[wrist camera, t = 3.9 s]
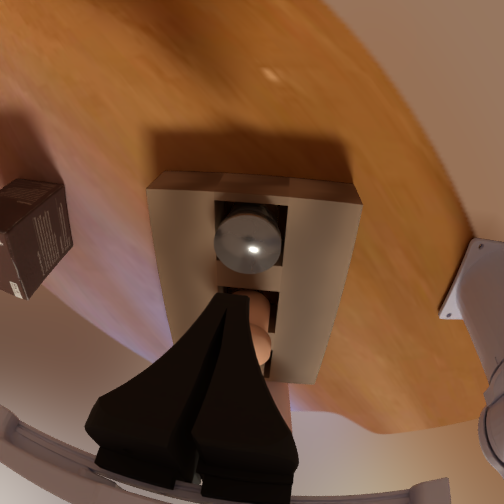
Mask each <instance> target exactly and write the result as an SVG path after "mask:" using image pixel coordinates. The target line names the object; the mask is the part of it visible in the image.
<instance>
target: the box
mask: <svg viewBox="0 0 504 504" xmlns="http://www.w3.org/2000/svg"><path fill="white" fill-rule="evenodd" d="M72 247H73V243H72V238H71V232H70V226H69V221H68V214H67V207H66V199H65V191H64V185H61V184H53V183H45V182H38V181H30V180H23V179H15V180H14V181H12V182H11V183H10V184H8V185H7V186H5V187H3V188H2V189H1V190H0V290H3V291H5V292H7V293H10V294H12V295H14V296H16V297H19V298H22V299H25V300H29V299H30V297H31V296H32V295H33V293H34V292H35V291H36V290H37V288H38V287H39V286H40V284H41V283H42V282H43V281H44V279H45V278H46V277H47V276H48V275H49V273H50V272H51V271H52V270H53V269H54V268H55V266H56V265H57V264H58V263H59V261H60V260H61V259H62V258H63V257H64V256H65V255H66V254H67V252H68V251H69V250H70V249H71V248H72Z"/></svg>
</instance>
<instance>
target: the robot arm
mask: <svg viewBox="0 0 504 504" xmlns="http://www.w3.org/2000/svg"><path fill="white" fill-rule="evenodd" d="M480 244H481V246H480V247H479V245H480ZM249 310H250V298H249V297H248V296H247V295H237V294H228V293H218V292H217V293H216V294H214V296H213V298H212V299H211V301H210V302H209V304H208V305H207V306H206V308H205V309H204V311H203V312H202V313H201V315H200V316H199V317H198V318H197V320H196V321H195V322H194V323H193V324H192V326H191V327H190V328H189V329H188V330H187V331H186V333H185V334H184V335H183V336H182V337H181V338H180V339H179V340H178V341H177V342H176V343H175V344H174V345H173V346H172V347H171V348H170V349H169V350H168V351H167V352H166V353H165V354H164V355H163V356H161V357H160V358H159V359H158V360H157V361H155V362H154V363H153V364H152V365H151V366H149V367H148V368H147V369H146V370H144V371H143V372H141V373H140V374H138V375H137V376H136V377H134V378H132V379H131V380H129V381H128V382H127V383H125V384H123V385H121V386H120V387H118V388H116V389H114V390H112V391H110V392H109V393H107V394H105V395H103V396H101V397H99V398H98V400H97V402H96V403H95V405H94V406H93V408H92V410H91V412H90V415H89V417H88V419H87V421H86V424H85V430H86V432H87V433H88V435H89V436H90V437H91V438H92V439H93V440H94V441H95V442H96V443H97V444H98V445H99V446H100V448H99V450H98V453H97V456H96V455H93V454H90V453H88V452H85V451H83V450H80V449H78V448H76V447H73V446H71V445H69V444H66V443H64V442H62V441H60V440H58V439H55V438H53V437H51V436H49V435H47V434H45V433H43V432H41V431H39V430H37V429H35V428H33V427H31V426H29V425H27V424H26V423H24V422H22V421H20V420H19V419H18V417H17V416H15V415H14V414H13V413H12V412H11V411H10V410H8V409H7V408H5V407H3V406H2V405H0V462H1V463H3V464H4V465H6V466H7V467H9V468H10V469H12V470H13V471H15V472H16V473H18V474H20V475H21V476H23V477H24V478H26V479H27V480H29V481H31V482H33V483H34V484H36V485H38V486H39V487H41V488H43V489H45V490H46V491H49V492H50V493H52V494H54V495H56V496H58V497H60V498H62V499H63V500H66V501H68V502H70V503H72V504H171V503H167V502H163V501H160V500H156V499H152V498H149V497H145V496H142V495H138V494H135V493H131V492H128V491H126V490H124V489H122V488H121V487H119V486H118V485H117V484H116V483H115V482H113V481H111V480H109V479H113V480H115V481H118V482H121V483H124V484H127V485H130V486H133V487H136V488H139V489H143V490H146V491H150V492H153V493H157V494H160V495H164V496H168V497H172V498H176V499H181V500H185V501H190V502H195V503H200V504H451V496H450V487H449V478H447V477H446V478H441V479H437V480H431V481H426V482H422V483H419V484H416V485H414V486H412V487H411V488H410V489H406V490H399V491H392V492H384V493H374V494H363V495H348V496H291V489H292V484H293V477H294V472H295V470H296V469H297V467H298V464H299V458H298V452H297V448H296V445H295V442H294V439H293V436H292V432H291V430H290V429H289V427H288V425H287V424H286V422H285V420H284V419H283V417H282V415H281V413H280V411H279V410H278V408H277V406H276V404H275V402H274V400H273V398H272V395H271V393H270V391H269V389H268V387H267V384H266V382H265V379H264V377H263V374H262V371H261V368H260V365H259V362H258V359H257V356H256V352H255V348H254V344H253V340H252V334H251V329H250V322H249ZM438 315H439V318H440V319H463V320H464V323H465V325H466V327H467V329H468V332H469V334H470V336H471V339H472V341H473V343H474V346H475V348H476V351H477V353H478V356H479V358H480V361H481V363H482V366H483V369H484V371H485V374H486V377H487V380H488V382H489V385H490V386H489V388H488V389H487V390H486V391H485V392H484V393H483V394H484V397H485V400H486V404H487V405H486V406H485V407H484V409H483V410H482V412H481V414H480V417H479V423H478V434H479V442H480V446H481V449H482V452H483V454H484V456H485V458H486V459H487V461H488V462H489V463H490V464H491V465H492V466H493V467H494V468H495V469H496V470H497V471H498V472H499V473H500V474H501V476H502V477H503V479H504V242H499V241H493V240H487V239H481V238H474V239H472V240H471V242H470V244H469V246H468V249H467V251H466V254H465V256H464V259H463V261H462V263H461V266H460V268H459V270H458V273H457V275H456V277H455V279H454V282H453V284H452V286H451V288H450V290H449V292H448V295H447V297H446V299H445V301H444V303H443V305H442V307H441V309H440V311H439V313H438ZM98 474H99V475H98ZM100 475H101V476H100ZM102 476H104V477H107V478H109V479H106V478H104V477H102ZM201 479H202V481H203V483H202V485H199V484H200V483H201Z"/></svg>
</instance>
